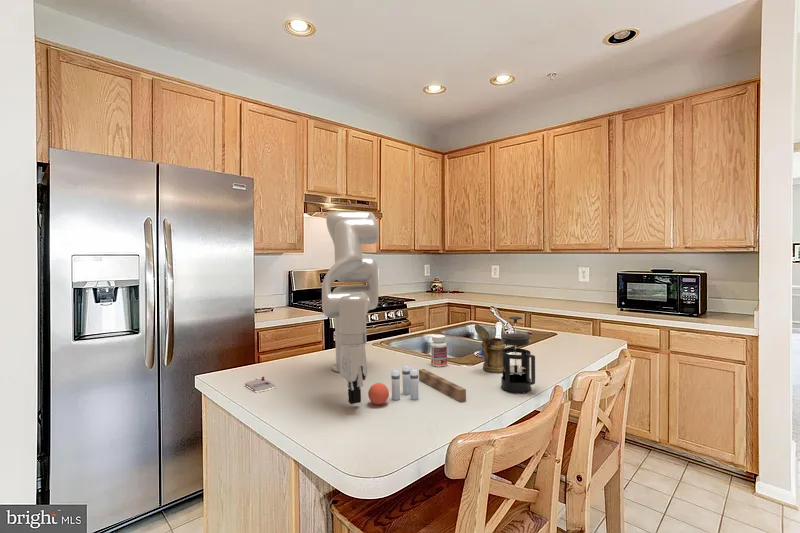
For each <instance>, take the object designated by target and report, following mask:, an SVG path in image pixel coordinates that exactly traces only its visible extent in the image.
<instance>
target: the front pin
mask: <svg viewBox="0 0 800 533" xmlns="http://www.w3.org/2000/svg"><path fill="white" fill-rule="evenodd" d="M400 376H401V375H400V370H399V369H392V370H391V377H390V378H391V400H393V401H399V400H400V399H401V389H400V388H401V386H400V385H401V384H400V383H401V381H400Z"/></svg>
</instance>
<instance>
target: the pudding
mask: <svg viewBox="0 0 800 533" xmlns="http://www.w3.org/2000/svg"><path fill="white" fill-rule="evenodd" d="M477 353H479V354H478V356H477V355H476V354H477ZM473 354H474V356H477V357H479V358H481V357H483V356H484V355H483V353H482V343H480V347H479V350H478V351H475V352H474V353H473ZM479 355H482V356H479Z"/></svg>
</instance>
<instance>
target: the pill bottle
mask: <svg viewBox="0 0 800 533" xmlns="http://www.w3.org/2000/svg"><path fill="white" fill-rule="evenodd" d="M447 346H448V344H447V342H446V335H443V334H433V335H431V343H430V356H431V357H430V359H431V360H430V362H431V366H432V367H435V366H436V367H437V368H438V367H439V368H440V367H442V366H443V367H446V366H448V347H447Z"/></svg>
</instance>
